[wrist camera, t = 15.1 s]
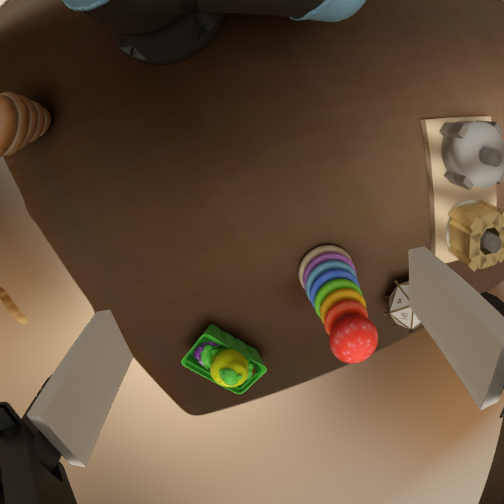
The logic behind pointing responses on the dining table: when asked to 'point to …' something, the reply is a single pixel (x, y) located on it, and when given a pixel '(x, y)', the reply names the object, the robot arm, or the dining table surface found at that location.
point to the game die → (402, 307)
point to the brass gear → (475, 233)
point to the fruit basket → (225, 360)
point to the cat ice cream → (20, 122)
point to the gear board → (444, 187)
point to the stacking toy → (339, 302)
